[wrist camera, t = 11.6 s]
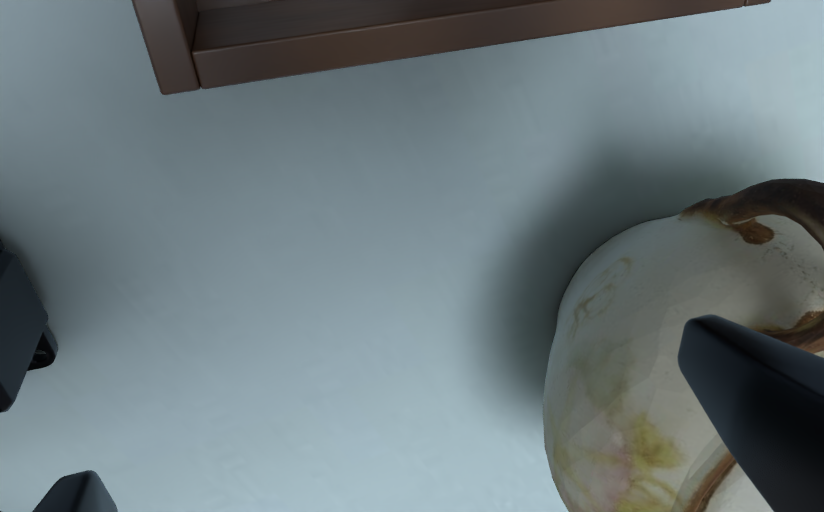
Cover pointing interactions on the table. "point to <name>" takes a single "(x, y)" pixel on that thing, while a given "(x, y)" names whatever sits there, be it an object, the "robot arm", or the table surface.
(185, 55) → the caddy
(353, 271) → the table surface
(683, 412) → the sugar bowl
